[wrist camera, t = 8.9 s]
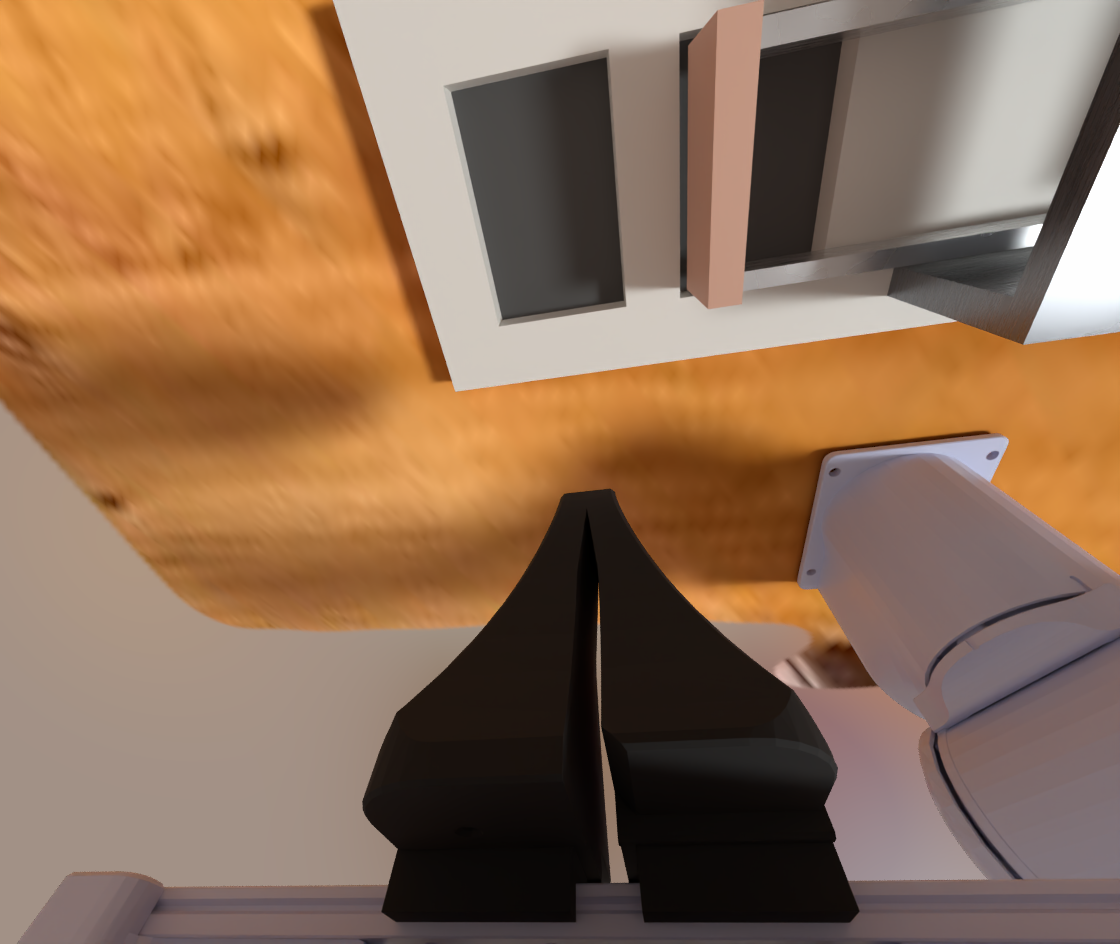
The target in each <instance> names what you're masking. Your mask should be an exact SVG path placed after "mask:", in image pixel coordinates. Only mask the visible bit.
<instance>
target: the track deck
mask: <svg viewBox="0 0 1120 944" xmlns="http://www.w3.org/2000/svg"><path fill="white" fill-rule="evenodd" d="M755 1H759V0H333V2H334V5H335V9H336V12H337V15H338V18H339V21H340V25H341V28H342V31H343V34H344V37H345V41H346V44H347V47H348V50H349V53H350V57H351V60H352V63H353V66H354V69H355V73H356V76H357V79H358V82H359V85H360V89H361V92H362V95H363V98H364V101H365V104H366V108H367V111H368V114H369V117H370V120H371V124H372V127H373V130H374V133H375V136H376V140H377V143H378V146H379V149H380V152H381V156H382V159H383V162H384V165H385V168H386V172H387V175H388V178H389V181H390V184H391V188H392V191H393V194H394V197H395V200H396V204H397V207H398V210H399V213H400V216H401V220H402V223H403V226H404V229H405V232H406V235H407V239H408V242H409V245H410V248H411V251H412V255H413V258H414V261H415V264H416V267H417V271H418V274H419V277H420V280H421V283H422V287H423V290H424V293H425V296H426V299H427V303H428V306H429V309H430V312H431V315H432V319H433V322H434V325H435V328H436V331H437V335H438V338H439V341H440V344H441V347H442V351H443V354H444V357H445V360H446V363H447V367H448V370H449V373H450V376H451V379H452V382H453V386H454V389H455V392H457V391H464V390H471V389H478V388H485V387H492V386H499V385H506V384H514V383H521V382H528V381H535V380H542V379H549V378H556V377H563V376H571V375H578V374H585V373H592V372H599V371H606V370H613V369H620V368H628V367H635V366H642V365H649V364H656V363H663V362H670V361H677V360H685V359H692V358H699V357H706V356H713V355H720V354H727V353H734V352H741V351H749V350H756V349H763V348H770V347H777V346H784V345H791V344H798V343H806V342H813V341H820V340H827V339H834V338H841V337H848V336H855V335H863V334H870V333H877V332H884V331H891V330H898V329H905V328H912V327H920V326H927V325H934V324H941V323H948V322H955V321H956V320H953V319H950V318H948V317H945V316H942V315H939V314H936V313H934V312H931V311H928V310H925V309H923V308H920V307H917V306H914V305H911V304H909V303H906V302H903V301H900V300H897V299H895V298H892V297H889V296H887V294H888V290H889V286H890V282H891V278H892V274H893V270H894V268H890V269H883V270H877V271H870V272H864V273H857V274H851V275H844V276H838V277H832V278H825V279H819V280H812V281H806V282H799V283H793V284H787V285H780V286H774V287H767V288H761V289H754V290H748V291H743V296H742V304H740V305H733V306H727V307H720V308H713V309H707V308H706V307H705V306H704V305H703V304H702V303H701V302H700V301H699V300H698V299H697V298H696V297H695V296H693V295H692V294H691V293H690V292H689V291H688V290H687V173H688V45H689V44H690V43H691V42H692V40H693V39H694V38H695V37H696V36H697V34H698V33H699V32H700V31H701V30H702V28H703V27H704V26H705V25H706V23H707V22H708V21H709V20H710V19H711V17H712V16H713V15H714V14H715V13H716V11H717V10H720V9H724V8H728V7H733V6H737V5H742V4H746V3H750V2H755ZM829 1H833V0H764V8H763V16H766V15H770V14H775V13H779V12H784V11H788V10H793V9H797V8H802V7H806V6H811V5H815V4H820V3H824V2H829ZM1119 33H1120V0H1035V1H1030V2H1026V3H1021V4H1016V5H1011V6H1007V7H1002V8H997V9H993V10H988V11H983V12H978V13H974V14H969V15H964V16H960V17H955V18H950V19H945V20H941V21H936V22H931V23H927V24H922V25H917V26H912V27H908V28H903V29H898V30H894V31H889V32H884V33H879V34H875V35H870V36H865V37H861V38H856V39H851V40H846V41H842V42H837V43H832V44H828V45H823V46H818V47H813V48H809V49H804V50H799V51H795V52H790V53H785V54H780V55H776V56H771V57H766V58H762V59H760V63H759V77H758V91H757V104H756V118H755V132H754V145H753V159H752V173H751V186H750V200H749V214H748V228H747V241H746V255H745V262H749V261H755V260H761V259H768V258H774V257H780V256H786V255H792V254H798V253H805V252H811V251H817V250H823V249H829V248H835V247H841V246H848V245H854V244H860V243H866V242H872V241H878V240H885V239H891V238H897V237H903V236H909V235H915V234H922V233H928V232H934V231H940V230H946V229H952V228H958V227H965V226H971V225H977V224H983V223H989V222H995V221H1002V220H1008V219H1014V218H1020V217H1026V216H1032V215H1038V214H1045V213H1047V212H1048V210H1049V207H1050V205H1051V202H1052V200H1053V197H1054V195H1055V192H1056V190H1057V187H1058V185H1059V182H1060V180H1061V177H1062V175H1063V172H1064V170H1065V167H1066V165H1067V162H1068V160H1069V157H1070V155H1071V153H1072V150H1073V148H1074V145H1075V143H1076V140H1077V138H1078V135H1079V133H1080V130H1081V128H1082V125H1083V123H1084V120H1085V118H1086V115H1087V113H1088V110H1089V108H1090V105H1091V103H1092V100H1093V98H1094V95H1095V93H1096V90H1097V88H1098V86H1099V83H1100V81H1101V78H1102V76H1103V73H1104V71H1105V68H1106V66H1107V63H1108V61H1109V58H1110V56H1111V53H1112V51H1113V48H1114V46H1115V43H1116V41H1117V38H1118V36H1119Z"/></svg>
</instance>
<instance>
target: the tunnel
mask: <svg viewBox="0 0 1120 944" xmlns="http://www.w3.org/2000/svg"><path fill="white" fill-rule="evenodd" d="M887 296H889V297H892V298H895V299H897V300H900V301H903V302H906V303H909V304H911V305H914V306H917V307H920V308H923V309H925V310H928V311H931V312H934V313H936V314H939V315H942V316H945V317H948V318H950V319H953V320H956V321H959V322H962V323H964V324H967V325H970V326H973V327H976V328H978V329H981V330H984V331H987V332H990V333H992V334H995V335H998V336H1001V337H1004V338H1006V339H1009V340H1012V341H1015V342H1017V343H1020V344H1023V345H1024V344H1031V343H1039V342H1046V341H1054V340H1061V339H1069V338H1076V337H1084V336H1092V335H1099V334H1107V333H1114V332H1120V33H1119V36H1118V38H1117V41H1116V43H1115V46H1114V48H1113V51H1112V53H1111V56H1110V58H1109V61H1108V63H1107V66H1106V68H1105V71H1104V73H1103V76H1102V78H1101V81H1100V83H1099V86H1098V88H1097V90H1096V93H1095V95H1094V98H1093V100H1092V103H1091V105H1090V108H1089V110H1088V113H1087V115H1086V118H1085V120H1084V123H1083V125H1082V128H1081V130H1080V133H1079V135H1078V138H1077V140H1076V143H1075V145H1074V148H1073V150H1072V153H1071V155H1070V157H1069V160H1068V162H1067V165H1066V167H1065V170H1064V172H1063V175H1062V177H1061V180H1060V182H1059V185H1058V187H1057V190H1056V192H1055V195H1054V197H1053V200H1052V202H1051V205H1050V207H1049V210H1048V212H1047V215H1046V217H1045V220H1044V222H1043V224H1042V227H1041V229H1040V232H1039V234H1038V237H1037V239H1036V242H1035V244H1034V246H1031V247H1025V248H1018V249H1012V250H1005V251H999V252H993V253H986V254H980V255H973V256H967V257H960V258H954V259H947V260H941V261H935V262H928V263H922V264H915V265H909V266H902V267H896V268H894V270H893V274H892V278H891V282H890V286H889V290H888V294H887Z"/></svg>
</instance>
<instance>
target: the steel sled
mask: <svg viewBox="0 0 1120 944" xmlns="http://www.w3.org/2000/svg"><path fill="white" fill-rule="evenodd" d="M1030 1H1035V0H833V1H829V2H824V3H820V4H815V5H811V6H806V7H802V8H797V9H793V10H788V11H784V12H779V13H775V14H770V15H766V16H763V8H764V0H759V1H755V2H750V3H746V4H742V5H737V6H733V7H728V8H724V9H720V10H717V11H716V13H715V14H714V15H713V16H712V17H711V19H710V20H709V21H708V22H707V23H706V25H705V26H704V27H703V28H702V30H701V31H700V32H699V33H698V34H697V36H696V37H695V38H694V39H693V40H692V42H691V43H690V44H689V45H688V173H687V290H688V291H689V292H690V293H691V294H692V295H693V296H695V297H696V298H697V299H698V300H699V301H700V302H701V303H702V304H703V305H704V306H705V307H706V308H707V309H713V308H720V307H727V306H733V305H740V304H742V296H743V291H748V290H754V289H761V288H767V287H774V286H780V285H787V284H793V283H799V282H806V281H812V280H819V279H825V278H832V277H838V276H844V275H851V274H857V273H864V272H870V271H877V270H883V269H890V268H896V267H902V266H909V265H915V264H922V263H928V262H935V261H941V260H947V259H954V258H960V257H967V256H973V255H980V254H986V253H993V252H999V251H1005V250H1012V249H1018V248H1025V247H1031V246H1034V244H1035V242H1036V239H1037V237H1038V234H1039V232H1040V229H1041V227H1042V224H1043V222H1044V220H1045V217H1046V215H1047V213H1045V214H1038V215H1032V216H1026V217H1020V218H1014V219H1008V220H1002V221H995V222H989V223H983V224H977V225H971V226H965V227H958V228H952V229H946V230H940V231H934V232H928V233H922V234H915V235H909V236H903V237H897V238H891V239H885V240H878V241H872V242H866V243H860V244H854V245H848V246H841V247H835V248H829V249H823V250H817V251H811V252H805V253H798V254H792V255H786V256H780V257H774V258H768V259H761V260H755V261H749V262H745V255H746V241H747V228H748V214H749V200H750V186H751V173H752V159H753V145H754V132H755V118H756V104H757V91H758V77H759V63H760V59H762V58H766V57H771V56H776V55H780V54H785V53H790V52H795V51H799V50H804V49H809V48H813V47H818V46H823V45H828V44H832V43H837V42H842V41H846V40H851V39H856V38H861V37H865V36H870V35H875V34H879V33H884V32H889V31H894V30H898V29H903V28H908V27H912V26H917V25H922V24H927V23H931V22H936V21H941V20H945V19H950V18H955V17H960V16H964V15H969V14H974V13H978V12H983V11H988V10H993V9H997V8H1002V7H1007V6H1011V5H1016V4H1021V3H1026V2H1030Z"/></svg>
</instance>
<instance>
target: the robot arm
mask: <svg viewBox="0 0 1120 944" xmlns="http://www.w3.org/2000/svg"><path fill="white" fill-rule="evenodd" d="M1008 442H1009V440H1008V438H1006V437H1005V436H1003V435H1001V434H998V433H994V434H985V435H976V436H967V437H958V438H950V439H941V440H932V441H923V442H914V443H905V444H896V445H888V446H879V447H870V448H861V449H852V450H843V451H835V452H831V453H829V454H828V455H826V456H825V457H824V459H823V461H822V466H821V471H820V475H819V480H818V485H817V489H816V494H815V499H814V503H813V508H812V513H811V518H810V522H809V527H808V532H807V536H806V541H805V546H804V550H803V555H802V560H801V564H800V569H799V574H798V579H797V583H798V585H799V586H800V587H801V588H802V589H817V588H818V590H819V591H820V593H821V595H822V596H823V598H824V600H825V601H826V603H827V605H828V606H829V608H830V610H831V611H832V613H833V615H834V616H835V618H836V620H837V621H838V623H839V625H840V626H841V628H842V630H843V631H844V633H845V635H846V636H847V638H848V640H849V641H850V643H851V645H852V646H853V648H854V650H855V651H856V653H857V655H858V656H859V658H860V660H861V661H862V663H863V665H864V666H865V668H866V670H867V671H868V673H869V674H870V676H871V677H872V678H873V680H874V681H875V682H876V684H877V685H878V686H879V687H880V688H881V689H882V690H883V691H884V692H885V693H886V694H887V695H889V696H890V697H891V698H892V699H893V700H895V701H896V702H897V703H898V704H900V705H901V706H903V707H904V708H906V709H907V710H909V711H910V712H912V713H914V714H915V715H917V716H919V717H921V718H923V719H925V720H926V721H927V723H928V724H929V726H930V727H929V728H927V729H926V730H925V731H924V732H923V733H922V735H921V737H920V740H919V756H920V762H921V766H922V769H923V773H924V776H925V780H926V784H927V787H928V789H929V792H930V794H931V796H932V799H933V801H934V803H935V805H936V807H937V809H938V811H939V813H940V814H941V816H942V818H943V820H944V822H945V823H946V825H947V827H948V828H949V830H950V831H951V832H952V834H953V836H954V837H955V839H956V840H957V842H958V843H959V844H960V846H961V847H962V848H963V850H964V851H965V852H966V854H967V855H968V856H969V858H970V859H971V860H972V861H973V863H974V864H975V865H976V866H977V868H978V869H979V870H980V871H981V872H982V873H983V875H984V876H985V877H986V878H987V879H988V880H903V881H848V880H847V877H846V875H845V872H844V870H843V867H842V865H841V862H840V860H839V857H838V854H837V852H836V849H835V847H834V844H833V842H835V840H836V835H835V831H834V829H833V826H832V823H831V821H830V818H829V816H828V813H827V811H826V808H825V806H824V804H825V802H826V800H827V798H828V795H829V793H830V791H831V789H832V787H833V785H834V782H835V780H836V778H837V770H838V767H837V765H836V763H835V761H834V758H833V755H832V753H831V751H830V749H829V747H828V744H827V743H826V741H825V739H824V738H823V736H822V734H821V732H820V730H819V729H818V727H817V725H816V724H815V722H814V720H813V719H812V717H811V715H810V714H809V712H808V711H807V709H806V708H805V706H804V705H803V703H802V702H801V700H800V699H799V697H798V696H797V695H796V693H795V692H794V690H792V689H791V688H790V687H788V686H787V685H786V684H784V683H783V682H782V681H780V680H779V679H778V678H776V677H775V676H773V675H772V674H771V673H769V672H768V671H767V670H766V669H764V668H763V667H762V666H760V665H759V664H758V663H757V662H755V661H754V660H753V659H751V658H750V657H749V656H748V655H747V654H745V653H744V652H743V651H742V650H741V649H739V648H738V647H737V646H736V645H735V644H733V643H732V642H731V641H730V640H728V639H727V638H726V637H725V636H724V635H723V634H722V633H721V632H720V631H719V630H718V629H717V628H716V627H714V626H713V625H712V624H711V623H710V622H709V621H708V620H707V619H706V618H705V617H704V616H703V615H702V614H701V613H699V612H698V611H697V610H696V609H695V608H694V607H693V606H692V605H691V604H690V603H689V601H688V600H687V599H686V598H685V597H684V596H683V595H682V594H681V593H680V592H679V591H678V590H677V589H676V587H675V586H674V585H673V584H672V583H671V582H670V581H669V580H668V578H667V577H666V576H665V575H664V573H663V572H662V571H661V570H660V569H659V567H658V566H657V565H656V563H655V562H654V561H653V559H652V558H651V557H650V555H649V554H648V553H647V551H646V550H645V548H644V547H643V545H642V544H641V543H640V541H639V539H638V538H637V536H636V535H635V533H634V531H633V530H632V528H631V527H630V525H629V523H628V522H627V520H626V518H625V516H624V514H623V512H622V510H621V508H620V506H619V503H618V501H617V498H616V495H615V492H614V491H613V490H611V489H604V490H595V491H585V492H576V493H567V494H564V495H563V496H562V497H561V499H560V503H559V505H558V508H557V511H556V513H555V516H554V518H553V520H552V522H551V525H550V527H549V529H548V531H547V533H546V535H545V537H544V539H543V541H542V543H541V545H540V547H539V549H538V551H537V552H536V554H535V556H534V558H533V559H532V561H531V563H530V564H529V566H528V568H527V569H526V571H525V573H524V574H523V576H522V577H521V579H520V581H519V582H518V584H517V585H516V587H515V588H514V589H513V591H512V592H511V594H510V595H509V596H508V598H507V599H506V601H505V602H504V603H503V605H502V606H501V607H500V608H499V610H498V611H497V612H496V613H495V615H494V616H493V617H492V618H491V620H490V621H489V622H488V623H487V625H486V626H485V627H484V628H483V629H482V631H481V632H480V633H479V634H478V635H477V636H476V637H475V639H474V640H473V641H472V642H471V643H470V644H469V645H468V646H467V647H466V648H465V649H464V650H463V651H462V652H461V653H460V654H459V655H458V656H457V657H456V658H455V659H454V661H453V662H452V663H451V664H450V665H449V666H448V667H447V668H446V669H445V670H444V671H443V672H442V673H441V674H440V675H439V676H438V677H437V678H435V679H434V680H433V681H432V682H431V683H430V684H429V685H428V686H426V687H425V688H424V689H423V690H422V691H421V692H420V693H419V694H417V695H416V696H415V697H414V698H413V699H412V700H411V701H410V702H408V703H407V704H406V705H405V706H404V707H403V708H401V709H400V710H399V711H398V712H397V713H396V715H395V717H394V720H393V722H392V724H391V727H390V729H389V731H388V733H387V735H386V737H385V739H384V742H383V744H382V747H381V749H380V752H379V754H378V758H377V761H376V763H375V766H374V769H373V772H372V775H371V778H370V781H369V784H368V787H367V790H366V792H365V795H364V798H363V801H362V802H363V811H364V814H365V816H366V817H367V819H368V820H369V821H370V823H371V824H372V825H373V826H374V827H375V828H376V829H377V830H378V831H379V832H380V833H382V834H383V835H384V836H385V837H386V838H387V839H388V840H389V841H390V842H391V843H392V844H393V845H395V847H396V848H398V850H397V854H396V858H395V862H394V865H393V869H392V873H391V877H390V880H389V884H388V885H341V886H340V885H338V886H337V885H336V886H230V887H229V886H227V887H226V886H223V887H222V886H221V887H164V886H163V884H162V883H161V882H159V881H157V880H155V879H153V878H151V877H148V876H145V875H142V874H138V873H132V872H121V871H120V872H119V871H116V872H74V873H72V874H70V875H68V876H66V877H65V879H64V880H63V881H62V883H61V884H60V885H59V887H58V888H57V890H56V891H55V892H54V894H53V895H52V896H51V898H50V899H49V900H48V902H47V903H46V905H45V906H44V907H43V909H42V910H41V911H40V913H39V914H38V915H37V917H36V918H35V919H34V921H33V922H32V924H31V925H30V926H29V928H28V929H27V930H26V932H25V933H24V935H23V936H22V937H21V939H20V940H19V941H18V943H17V944H1120V575H1118V574H1117V573H1116V572H1114V571H1113V570H1111V569H1110V568H1109V567H1107V566H1106V565H1104V564H1103V563H1102V562H1100V561H1099V560H1097V559H1096V558H1095V557H1093V556H1092V555H1090V554H1089V553H1088V552H1086V551H1085V550H1084V549H1082V548H1081V547H1079V546H1078V545H1077V544H1075V543H1074V542H1072V541H1071V540H1070V539H1068V538H1067V537H1065V536H1064V535H1063V534H1061V533H1060V532H1058V531H1057V530H1056V529H1054V528H1053V527H1051V526H1050V525H1049V524H1047V523H1046V522H1045V521H1043V520H1042V519H1040V518H1039V517H1038V516H1036V515H1035V514H1033V513H1032V512H1031V511H1029V510H1028V509H1026V508H1025V507H1024V506H1022V505H1021V504H1019V503H1018V502H1017V501H1015V500H1014V499H1013V498H1011V497H1010V496H1008V495H1007V494H1006V493H1004V492H1003V491H1001V490H1000V489H999V488H997V487H996V486H994V485H993V484H992V483H990V481H991V479H992V477H993V475H994V472H995V470H996V468H997V466H998V464H999V462H1000V460H1001V458H1002V456H1003V454H1004V452H1005V450H1006V448H1007V446H1008ZM990 452H991V453H990ZM834 468H836V469H835V470H834V471H833V472H830V471H831V470H832V469H834ZM598 582H599V600H600V632H601V727H602V733H603V737H604V742H605V747H606V752H607V757H608V761H609V766H610V771H611V776H612V780H613V786H614V790H615V801H616V816H617V832H618V843H619V846H621V849H622V853H623V858H624V862H625V867H626V871H627V875H628V880H629V883H610V882H611V878H610V865H609V853H608V839H607V826H606V813H605V799H604V785H603V771H602V756H601V741H600V726H599V712H598V695H597V678H596V651H597V618H598Z"/></svg>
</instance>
